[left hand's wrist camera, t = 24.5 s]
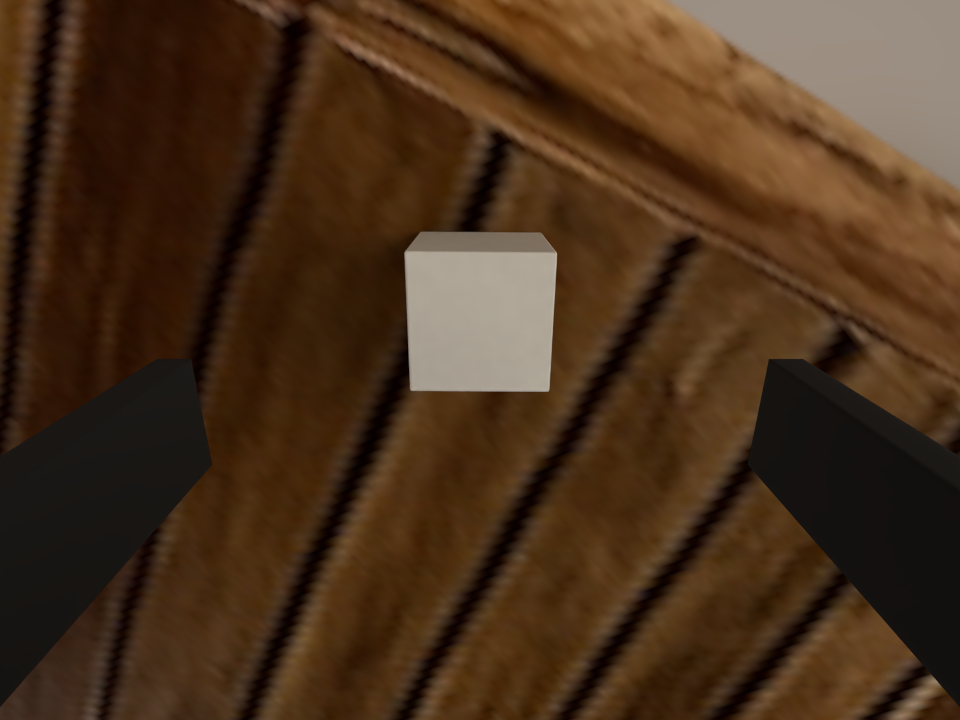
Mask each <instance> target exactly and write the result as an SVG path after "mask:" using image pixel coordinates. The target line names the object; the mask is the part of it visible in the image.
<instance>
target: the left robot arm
mask: <svg viewBox="0 0 960 720" xmlns="http://www.w3.org/2000/svg"><path fill="white" fill-rule="evenodd" d="M211 465H212V461H211V456H210V451H209V446H208V441H207V437H206V432H205V427H204V422H203V417H202V412H201V407H200V402H199V397H198V392H197V387H196V382H195V377H194V372H193V367H192V362H191V359H157V360H155V361H153V362H152V363H150V364H148V365H147V366H145V367H144V368H142V369H140V370H139V371H137V372H136V373H134V374H132V375H131V376H129V377H128V378H126V379H124V380H123V381H121V382H120V383H118V384H116V385H115V386H113V387H112V388H110V389H108V390H107V391H105V392H103V393H102V394H100V395H99V396H97V397H95V398H94V399H92V400H91V401H89V402H87V403H86V404H84V405H83V406H81V407H79V408H78V409H76V410H75V411H73V412H71V413H70V414H68V415H67V416H65V417H63V418H62V419H60V420H58V421H57V422H55V423H54V424H52V425H50V426H49V427H47V428H46V429H44V430H42V431H41V432H39V433H38V434H36V435H34V436H33V437H31V438H30V439H28V440H26V441H25V442H23V443H21V444H20V445H18V446H17V447H15V448H13V449H12V450H10V451H9V452H7V453H5V454H4V455H2V456H1V457H0V706H1V705H2V704H3V703H4V702H5V701H6V700H7V698H8V697H9V696H10V695H11V694H12V693H13V692H14V690H15V689H16V688H17V687H18V686H19V685H20V684H21V682H22V681H23V680H24V679H25V678H26V677H27V676H28V674H29V673H30V672H31V671H32V670H33V669H34V668H35V666H36V665H37V664H38V663H39V662H40V661H41V660H42V658H43V657H44V656H45V655H46V654H47V653H48V652H49V650H50V649H51V648H52V647H53V646H54V645H55V644H56V642H57V641H58V640H59V639H60V638H61V637H62V636H63V634H64V633H65V632H66V631H67V630H68V629H69V628H70V626H71V625H72V624H73V623H74V622H75V621H76V620H77V618H78V617H79V616H80V615H81V614H82V613H83V612H84V610H85V609H86V608H87V607H88V606H89V605H90V604H91V602H92V601H93V600H94V599H95V598H96V597H97V596H98V594H99V593H100V592H101V591H102V590H103V589H104V588H105V586H106V585H107V584H108V583H109V582H110V581H111V580H112V578H113V577H114V576H115V575H116V574H117V573H118V572H119V570H120V569H121V568H122V567H123V566H124V565H125V564H126V562H127V561H128V560H129V559H130V558H131V557H132V556H133V554H134V553H135V552H136V551H137V550H138V549H139V548H140V546H141V545H142V544H143V543H144V542H145V541H146V540H147V538H148V537H149V536H150V535H151V534H152V533H153V532H154V530H155V529H156V528H157V527H158V526H159V525H160V524H161V522H162V521H163V520H164V519H165V518H166V517H167V516H168V514H169V513H170V512H171V511H172V510H173V509H174V508H175V506H176V505H177V504H178V503H179V502H180V501H181V500H182V498H183V497H184V496H185V495H186V494H187V493H188V492H189V490H190V489H191V488H192V487H193V486H194V485H195V484H196V482H197V481H198V480H199V479H200V478H201V477H202V476H203V474H204V473H205V472H206V471H207V470H208V469H209V468H210V466H211ZM748 465H749V466H750V468H751V469H752V470H753V471H754V472H755V473H756V474H757V476H758V477H759V478H760V479H761V480H762V481H763V482H764V484H765V485H766V486H767V487H768V488H769V489H770V490H771V492H772V493H773V494H774V495H775V496H776V497H777V498H778V500H779V501H780V502H781V503H782V504H783V505H784V506H785V508H786V509H787V510H788V511H789V512H790V513H791V514H792V516H793V517H794V518H795V519H796V520H797V521H798V522H799V524H800V525H801V526H802V527H803V528H804V529H805V530H806V532H807V533H808V534H809V535H810V536H811V537H812V538H813V540H814V541H815V542H816V543H817V544H818V545H819V546H820V548H821V549H822V550H823V551H824V552H825V553H826V554H827V556H828V557H829V558H830V559H831V560H832V561H833V562H834V564H835V565H836V566H837V567H838V568H839V569H840V570H841V572H842V573H843V574H844V575H845V576H846V577H847V578H848V580H849V581H850V582H851V583H852V584H853V585H854V586H855V588H856V589H857V590H858V591H859V592H860V593H861V594H862V596H863V597H864V598H865V599H866V600H867V601H868V602H869V604H870V605H871V606H872V607H873V608H874V609H875V610H876V612H877V613H878V614H879V615H880V616H881V617H882V618H883V620H884V621H885V622H886V623H887V624H888V625H889V626H890V628H891V629H892V630H893V631H894V632H895V633H896V634H897V636H898V637H899V638H900V639H901V640H902V641H903V642H904V644H905V645H906V646H907V647H908V648H909V649H910V650H911V652H912V653H913V654H914V655H915V656H916V657H917V658H918V660H919V661H920V662H921V663H922V664H923V665H924V666H925V668H926V669H927V670H928V671H929V672H930V673H931V674H932V676H933V677H934V678H935V679H936V680H937V681H938V682H939V684H940V685H941V686H942V687H943V688H944V689H945V690H946V692H947V693H948V694H949V695H950V696H951V697H952V698H953V700H954V701H955V702H956V703H957V704H958V705H959V706H960V457H959V456H958V455H956V454H955V453H953V452H951V451H950V450H948V449H947V448H945V447H943V446H942V445H940V444H939V443H937V442H935V441H934V440H932V439H930V438H929V437H927V436H926V435H924V434H922V433H921V432H919V431H918V430H916V429H914V428H913V427H911V426H910V425H908V424H906V423H905V422H903V421H902V420H900V419H898V418H897V417H895V416H893V415H892V414H890V413H889V412H887V411H885V410H884V409H882V408H881V407H879V406H877V405H876V404H874V403H873V402H871V401H869V400H868V399H866V398H865V397H863V396H861V395H860V394H858V393H857V392H855V391H853V390H852V389H850V388H848V387H847V386H845V385H844V384H842V383H840V382H839V381H837V380H836V379H834V378H832V377H831V376H829V375H828V374H826V373H824V372H823V371H821V370H820V369H818V368H816V367H815V366H813V365H812V364H810V363H808V362H807V361H805V360H803V359H769V362H768V367H767V372H766V377H765V382H764V387H763V392H762V397H761V402H760V407H759V412H758V417H757V422H756V427H755V432H754V437H753V441H752V446H751V451H750V456H749V461H748Z"/></svg>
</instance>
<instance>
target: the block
mask: <svg viewBox="0 0 960 720" xmlns="http://www.w3.org/2000/svg"><path fill="white" fill-rule="evenodd" d="M404 255H405V279H406V302H407V325H408V348H409V372H410V389H411V391H528V392H548V391H549V385H550V368H551V350H552V333H553V315H554V298H555V280H556V263H557V253H556V251H555V250H554V249H553V248H552V246H551V245H550V244H549V242H548V241H547V240H546V239H545V237H544V236H543V235H542V233H526V232H420V233H419V234H418V236H417V237H416V238H415V239H414V241H413V242H412V243H411V245H410V246H409V247H408V248H407V250H406V251H405V253H404Z"/></svg>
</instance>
